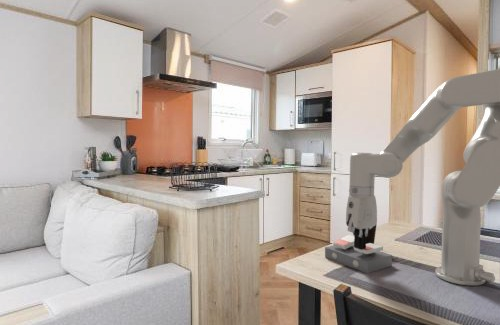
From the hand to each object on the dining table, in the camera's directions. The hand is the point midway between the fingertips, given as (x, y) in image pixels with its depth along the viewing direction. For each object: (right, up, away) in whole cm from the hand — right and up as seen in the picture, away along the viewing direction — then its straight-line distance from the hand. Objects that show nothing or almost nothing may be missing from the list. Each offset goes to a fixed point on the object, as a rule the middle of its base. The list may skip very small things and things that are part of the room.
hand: (359, 248), depth 109 cm
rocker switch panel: (+1, -6, +6) cm, 8 cm away
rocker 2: (+3, -1, +2) cm, 4 cm away
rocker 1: (-1, -1, +9) cm, 10 cm away
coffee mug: (+9, -5, +20) cm, 22 cm away
